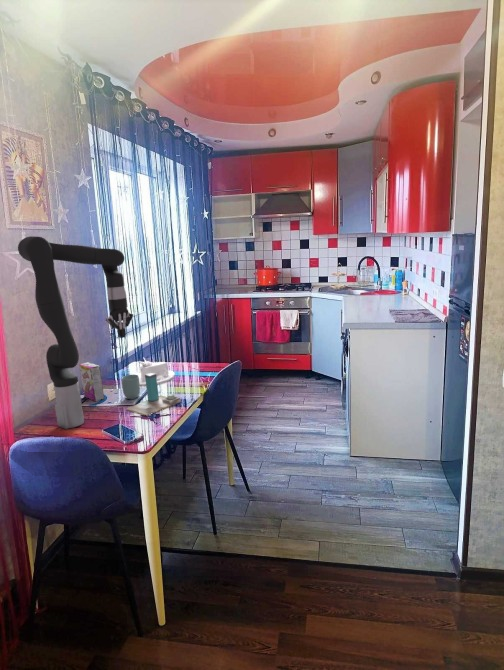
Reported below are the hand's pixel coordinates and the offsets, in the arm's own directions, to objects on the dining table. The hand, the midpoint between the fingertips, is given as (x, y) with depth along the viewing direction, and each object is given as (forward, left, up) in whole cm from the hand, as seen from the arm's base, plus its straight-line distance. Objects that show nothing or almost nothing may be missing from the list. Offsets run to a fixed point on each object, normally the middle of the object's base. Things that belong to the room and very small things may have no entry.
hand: (122, 337), depth 201 cm
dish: (+31, +24, -32) cm, 50 cm away
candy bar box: (-3, +24, -31) cm, 40 cm away
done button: (+12, -14, -30) cm, 35 cm away
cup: (+7, +8, -31) cm, 33 cm away
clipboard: (+5, -10, -31) cm, 33 cm away
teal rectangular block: (+8, -6, -30) cm, 32 cm away
